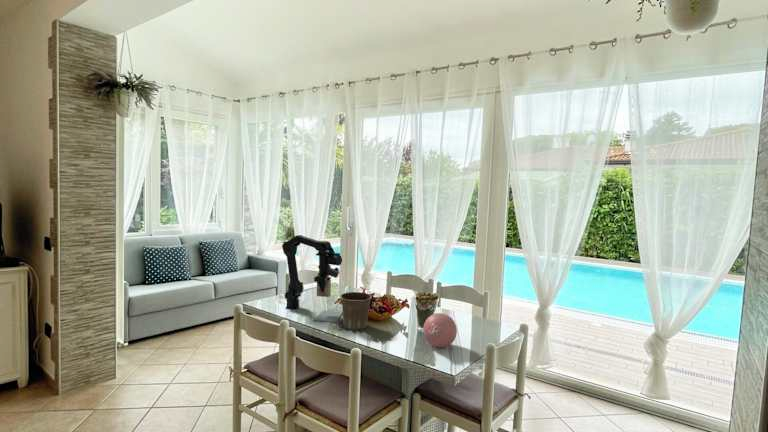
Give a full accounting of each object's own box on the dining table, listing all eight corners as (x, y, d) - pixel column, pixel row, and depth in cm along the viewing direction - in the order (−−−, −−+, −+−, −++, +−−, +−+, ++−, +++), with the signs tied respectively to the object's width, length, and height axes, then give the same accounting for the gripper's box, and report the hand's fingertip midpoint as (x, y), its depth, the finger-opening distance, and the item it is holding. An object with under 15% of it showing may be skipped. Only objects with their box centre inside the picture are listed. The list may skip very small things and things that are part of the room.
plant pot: (366, 333, 201) (367, 301, 201) (335, 329, 205) (336, 298, 204) (373, 323, 217) (374, 293, 216) (344, 320, 221) (345, 291, 220)
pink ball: (413, 351, 180) (414, 317, 180) (429, 338, 198) (430, 307, 197) (446, 359, 173) (448, 323, 173) (460, 344, 191) (461, 312, 190)
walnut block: (316, 296, 228) (316, 280, 227) (318, 294, 231) (318, 279, 231) (328, 296, 227) (329, 280, 226) (330, 295, 231) (330, 279, 230)
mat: (314, 320, 217) (314, 319, 217) (322, 311, 235) (322, 310, 235) (336, 322, 216) (336, 321, 216) (342, 312, 234) (342, 311, 234)
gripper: (334, 267, 218) (333, 295, 219) (341, 261, 237) (341, 288, 237) (314, 266, 219) (313, 294, 220) (323, 261, 238) (322, 287, 239)
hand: (323, 291), depth 229 cm, fingers closed on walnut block, 4 cm apart
